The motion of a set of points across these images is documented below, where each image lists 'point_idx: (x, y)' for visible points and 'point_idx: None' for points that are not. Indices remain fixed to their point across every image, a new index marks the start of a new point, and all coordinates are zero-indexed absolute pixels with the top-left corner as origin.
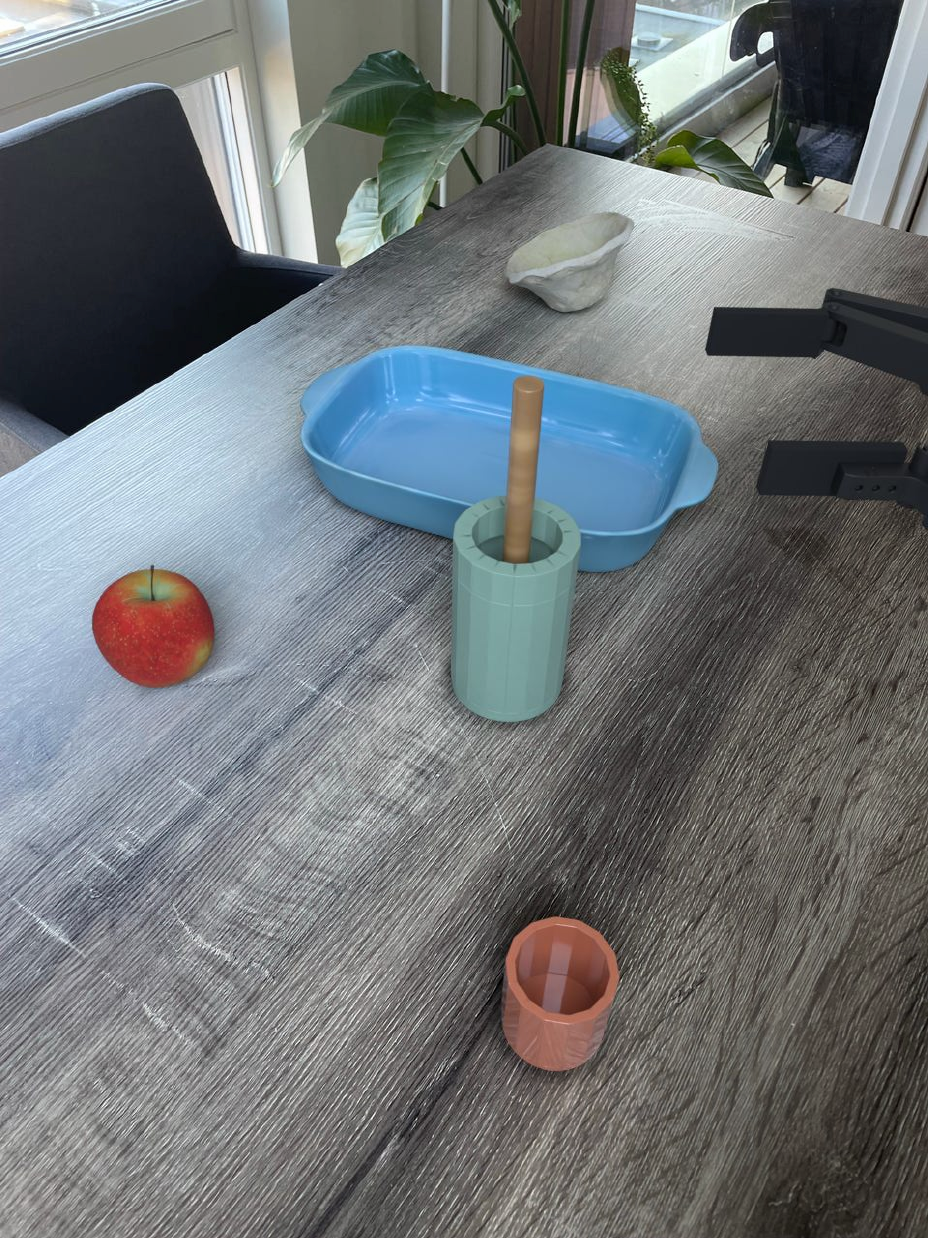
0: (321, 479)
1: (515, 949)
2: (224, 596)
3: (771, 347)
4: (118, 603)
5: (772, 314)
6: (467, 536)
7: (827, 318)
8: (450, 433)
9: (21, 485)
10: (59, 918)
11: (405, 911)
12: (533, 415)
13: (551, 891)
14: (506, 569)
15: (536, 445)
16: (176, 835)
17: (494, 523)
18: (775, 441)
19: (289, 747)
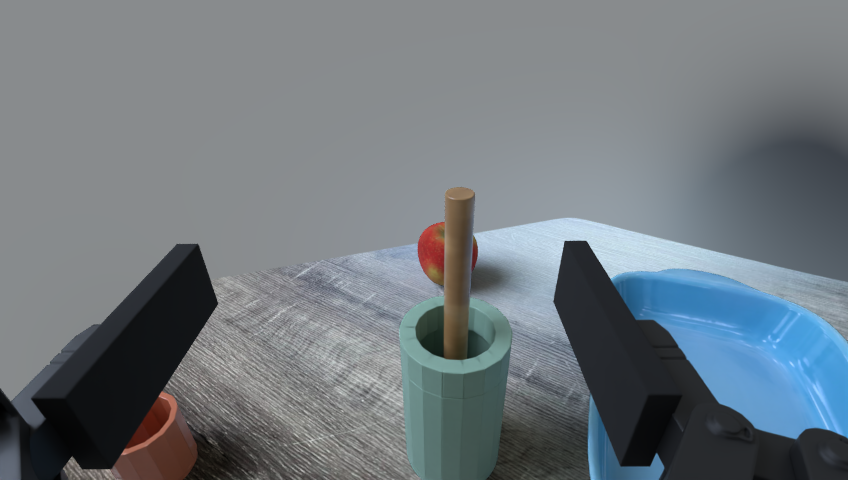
0: None
1: (165, 396)
2: (508, 292)
3: (586, 362)
4: (437, 224)
5: (596, 300)
6: None
7: (643, 399)
8: (766, 395)
9: (571, 219)
10: (309, 272)
11: (267, 386)
12: (446, 219)
13: (250, 470)
14: (408, 322)
15: (449, 252)
16: (342, 297)
17: (487, 329)
18: (191, 249)
19: (392, 329)
